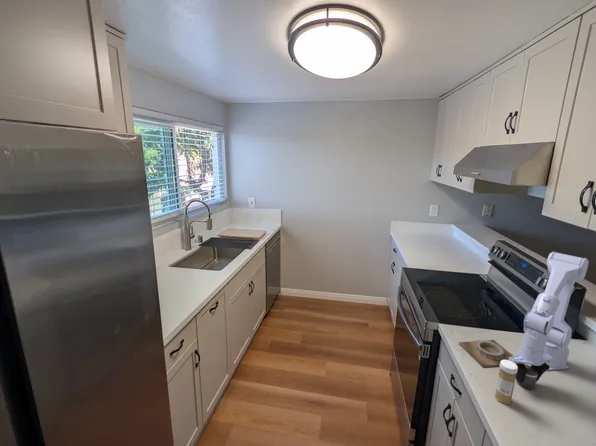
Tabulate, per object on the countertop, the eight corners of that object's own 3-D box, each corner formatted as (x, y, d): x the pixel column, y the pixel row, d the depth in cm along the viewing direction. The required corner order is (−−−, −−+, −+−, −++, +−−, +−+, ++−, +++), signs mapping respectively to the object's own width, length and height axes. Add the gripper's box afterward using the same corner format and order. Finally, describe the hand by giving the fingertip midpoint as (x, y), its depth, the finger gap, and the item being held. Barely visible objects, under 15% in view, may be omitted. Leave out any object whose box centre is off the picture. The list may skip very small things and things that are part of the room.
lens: (525, 378, 102) (528, 363, 100) (538, 389, 97) (542, 374, 95) (512, 379, 101) (515, 364, 100) (525, 390, 96) (528, 375, 95)
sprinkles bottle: (513, 400, 92) (520, 365, 89) (507, 407, 90) (514, 371, 87) (497, 391, 96) (504, 357, 93) (491, 397, 93) (497, 362, 90)
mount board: (493, 341, 122) (494, 335, 121) (521, 364, 108) (522, 358, 108) (458, 343, 120) (459, 338, 120) (482, 367, 107) (483, 361, 106)
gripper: (541, 337, 100) (534, 370, 103) (504, 340, 99) (498, 373, 102) (561, 350, 93) (553, 385, 96) (521, 353, 92) (514, 388, 95)
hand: (526, 380), depth 98 cm, fingers open, 5 cm apart
